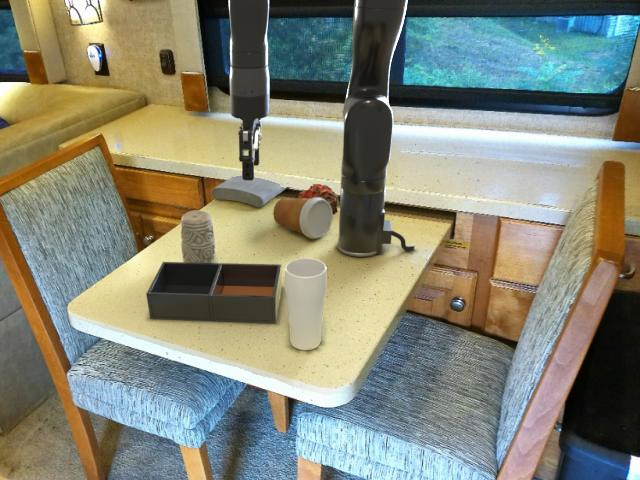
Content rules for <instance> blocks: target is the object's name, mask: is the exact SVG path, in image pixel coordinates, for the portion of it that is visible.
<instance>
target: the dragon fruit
mask: <svg viewBox="0 0 640 480" xmlns="http://www.w3.org/2000/svg"><path fill="white" fill-rule="evenodd" d="M314 197H322V198H323V199H325V200H326V201H327V202H328V203H329V204H330V205H331V208H332V212H333V216H334V215H336V214H337V213H338V212H339V211H338V206H340V199H339V196H338V194H337V193H335V191H333V189H332V188H331V187H329V186H328V185H326V184H321V183H313V184H312V185H310V186H309V188H308V189H305V190H302V191H301V192H298V193H297V194H296V199H302V198H303V199H304V198H305V199H306V198H307V199H308V198H309V199H310V198H314Z"/></svg>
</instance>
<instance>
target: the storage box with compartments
mask: <svg viewBox="0 0 640 480" xmlns="http://www.w3.org/2000/svg"><path fill="white" fill-rule="evenodd" d="M282 275H283V274H282V264H277V263H276V264H274V263H272V264H271V263H235V262H234V263H233V262H231V263H230V262H213V263H191V262H184V261H182V262H181V261H162V263H161V264H160V267H159V268H158V270H157V272H156V274H155V275H154V278H153V279H152V282H151V283H150V286H149V287H148V289H147V291H146V295H145V296H146V301H147V307H148V315H149V319H150V320H170V321H193V322H195V321H196V322H219V323H220V322H223V323H245V324H246V323H247V324H248V323H249V324H272V325H273V324H274V325H276V324H277V320H278V314H279V309H280V302H281V296H282V291H283V290H282V289H283V277H282Z"/></svg>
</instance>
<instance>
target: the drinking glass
mask: <svg viewBox="0 0 640 480" xmlns="http://www.w3.org/2000/svg"><path fill="white" fill-rule="evenodd" d="M327 271H328V270H327V265H326V263H325V262H323V261H322V260H320V259H317V258H314V257H299V258H295V259H292V260H290V261H289V262H287V264H286V265H285V266H284V292H285V300H286V301H285V302H286V310H287V318H288V319H287V320H288V328H289V329H288V330H289V343H290V345H291V346H292V347H294V348H295V349H297V350H300V351H312V350H314V349H316V348H317V347H319V345H320V344H321V342H322V329H323V320H324V313H325V305H326V295H327V286H328V272H327Z"/></svg>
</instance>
